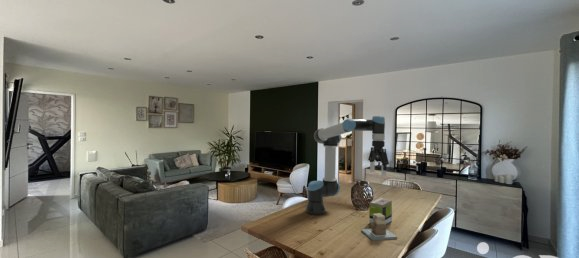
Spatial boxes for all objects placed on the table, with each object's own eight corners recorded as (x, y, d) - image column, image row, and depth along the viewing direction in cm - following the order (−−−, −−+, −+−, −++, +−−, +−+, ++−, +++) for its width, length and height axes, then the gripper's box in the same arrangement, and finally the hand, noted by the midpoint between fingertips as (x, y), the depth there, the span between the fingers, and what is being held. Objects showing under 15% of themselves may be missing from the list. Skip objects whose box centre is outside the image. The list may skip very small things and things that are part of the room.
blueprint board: (361, 230, 160) (361, 228, 160) (383, 229, 163) (383, 227, 163) (372, 240, 147) (372, 238, 147) (397, 238, 150) (397, 236, 150)
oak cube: (373, 221, 157) (373, 213, 157) (380, 221, 158) (380, 213, 158) (377, 224, 152) (377, 216, 152) (384, 224, 153) (384, 216, 153)
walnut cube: (371, 231, 157) (371, 221, 157) (380, 230, 158) (380, 221, 158) (376, 235, 151) (377, 225, 151) (385, 234, 152) (386, 224, 152)
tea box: (378, 217, 185) (379, 197, 185) (392, 221, 178) (392, 200, 178) (368, 222, 175) (369, 201, 174) (382, 227, 167) (383, 204, 167)
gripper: (363, 139, 172) (362, 170, 172) (383, 141, 147) (383, 177, 147) (373, 139, 173) (373, 170, 173) (395, 141, 149) (395, 177, 149)
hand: (377, 173), depth 160 cm, fingers open, 13 cm apart
